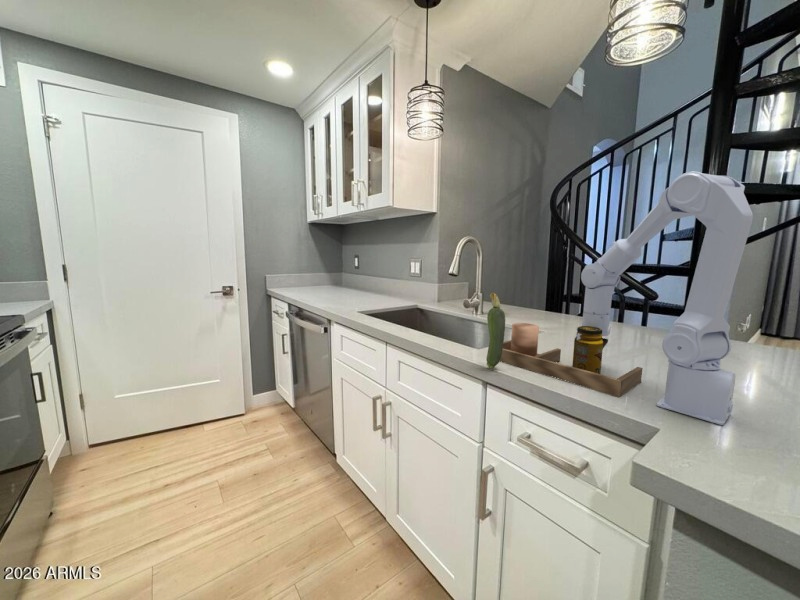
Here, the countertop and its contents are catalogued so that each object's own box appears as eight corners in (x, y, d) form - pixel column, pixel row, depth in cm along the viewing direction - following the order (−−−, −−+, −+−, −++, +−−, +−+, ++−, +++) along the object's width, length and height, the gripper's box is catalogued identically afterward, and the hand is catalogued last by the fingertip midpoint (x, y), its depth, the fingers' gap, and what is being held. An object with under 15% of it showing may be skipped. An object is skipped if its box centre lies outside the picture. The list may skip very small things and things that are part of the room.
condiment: (609, 380, 77) (613, 330, 75) (578, 383, 75) (582, 332, 73) (585, 369, 84) (589, 323, 82) (556, 372, 82) (559, 325, 80)
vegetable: (500, 367, 86) (504, 291, 83) (504, 372, 82) (508, 293, 79) (483, 366, 86) (487, 291, 84) (486, 372, 82) (490, 293, 79)
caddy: (640, 382, 76) (645, 341, 75) (618, 397, 68) (623, 351, 67) (515, 349, 102) (517, 318, 101) (488, 357, 94) (489, 324, 92)
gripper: (591, 307, 88) (587, 355, 90) (566, 313, 80) (561, 366, 82) (621, 311, 83) (615, 362, 85) (597, 318, 74) (591, 375, 76)
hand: (591, 365), depth 83 cm, fingers closed
